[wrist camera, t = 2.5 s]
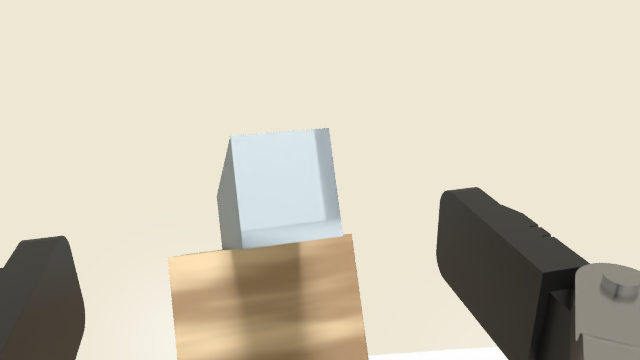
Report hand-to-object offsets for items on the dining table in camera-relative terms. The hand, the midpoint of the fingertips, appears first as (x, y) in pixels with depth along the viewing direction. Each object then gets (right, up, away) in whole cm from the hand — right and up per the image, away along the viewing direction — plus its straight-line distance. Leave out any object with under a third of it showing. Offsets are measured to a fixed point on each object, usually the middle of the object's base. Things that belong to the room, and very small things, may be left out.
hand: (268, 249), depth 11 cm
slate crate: (-3, -3, +24) cm, 24 cm away
